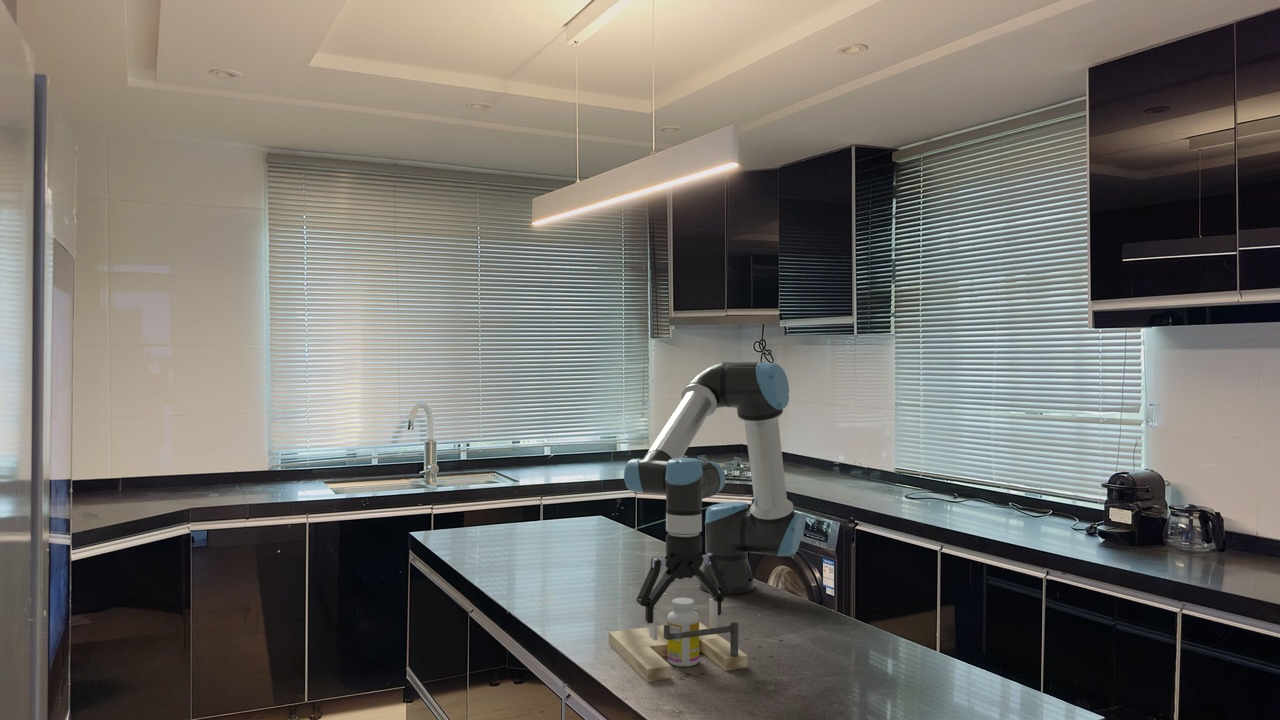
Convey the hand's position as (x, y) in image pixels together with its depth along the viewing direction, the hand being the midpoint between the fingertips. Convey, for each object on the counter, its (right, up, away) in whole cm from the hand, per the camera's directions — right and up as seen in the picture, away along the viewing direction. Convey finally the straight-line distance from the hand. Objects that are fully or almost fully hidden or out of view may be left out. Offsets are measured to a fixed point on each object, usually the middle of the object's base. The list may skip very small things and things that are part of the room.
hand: (683, 634), depth 178 cm
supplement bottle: (0, -6, 0) cm, 6 cm away
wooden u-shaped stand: (-2, -6, +4) cm, 7 cm away
